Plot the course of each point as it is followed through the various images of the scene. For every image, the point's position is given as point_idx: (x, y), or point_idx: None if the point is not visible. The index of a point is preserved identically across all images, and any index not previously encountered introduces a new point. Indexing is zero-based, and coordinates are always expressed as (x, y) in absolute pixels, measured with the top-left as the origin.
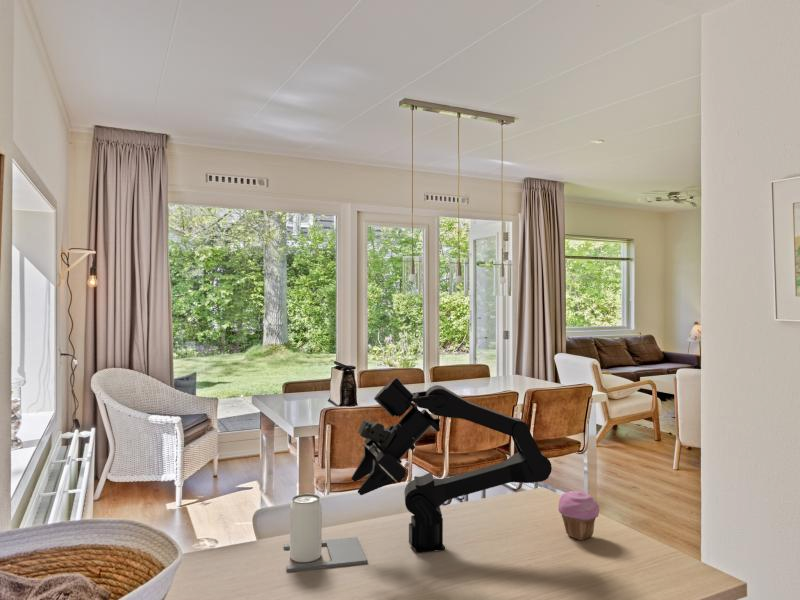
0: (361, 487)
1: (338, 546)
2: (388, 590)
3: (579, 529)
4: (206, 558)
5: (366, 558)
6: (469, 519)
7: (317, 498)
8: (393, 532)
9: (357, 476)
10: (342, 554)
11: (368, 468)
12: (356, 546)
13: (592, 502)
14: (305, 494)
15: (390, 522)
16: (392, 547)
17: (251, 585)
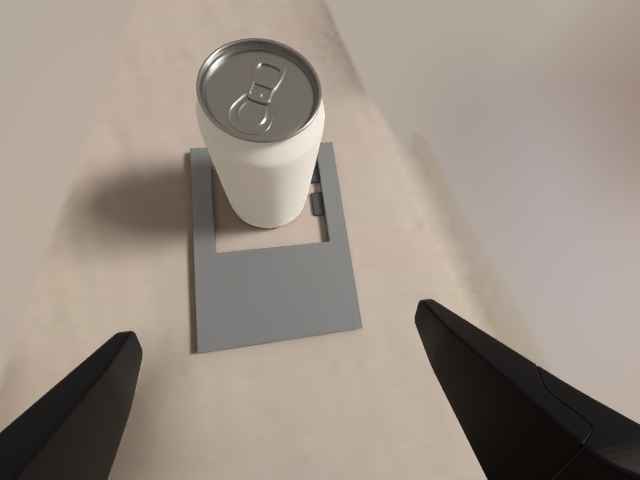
0: (82, 364)
1: (302, 272)
2: (10, 407)
3: None
4: (290, 11)
5: (210, 350)
6: None
7: (272, 137)
8: (407, 448)
9: (433, 340)
10: (249, 282)
11: (497, 451)
12: (295, 323)
13: None
14: (318, 89)
15: None
16: (296, 437)
17: (143, 87)
